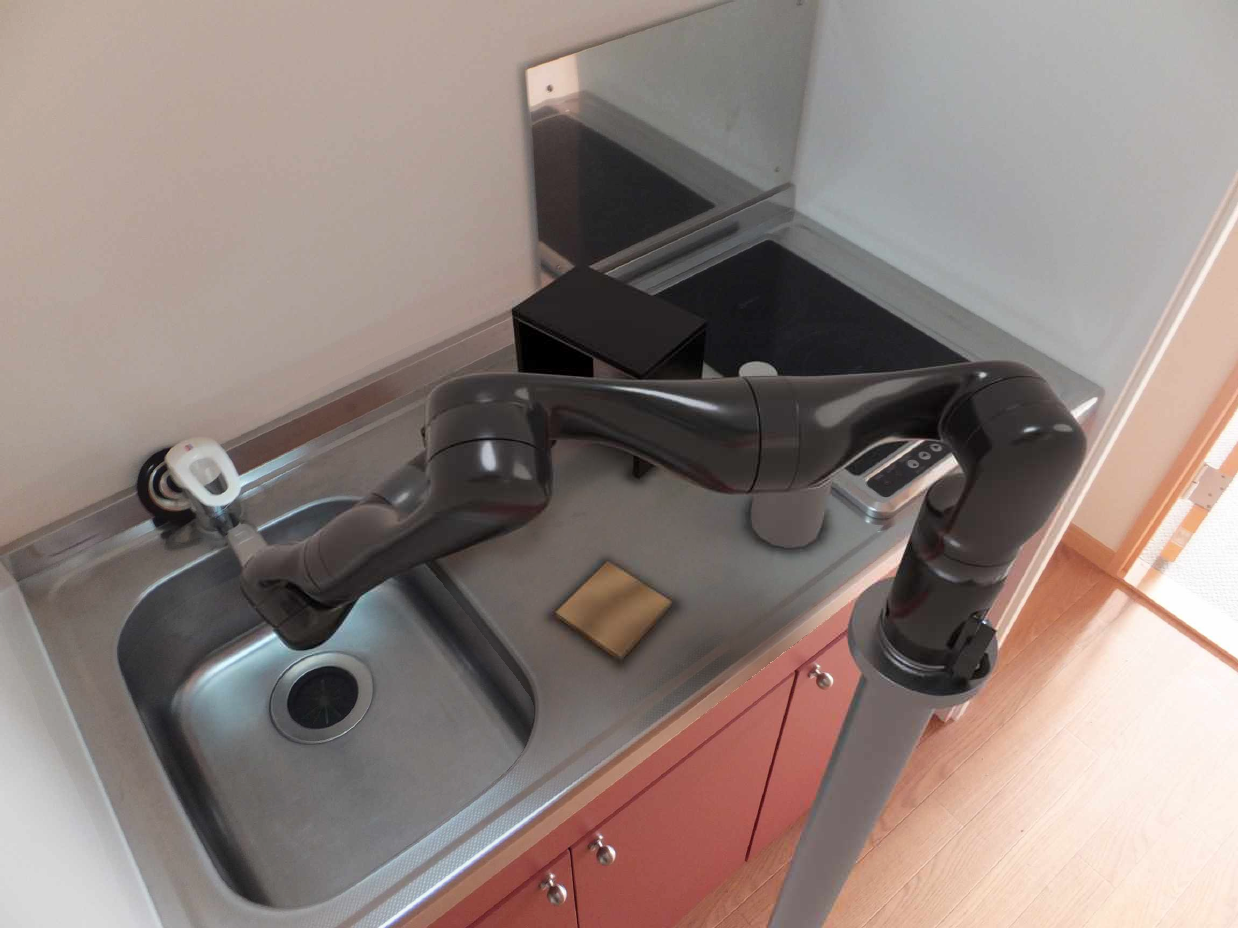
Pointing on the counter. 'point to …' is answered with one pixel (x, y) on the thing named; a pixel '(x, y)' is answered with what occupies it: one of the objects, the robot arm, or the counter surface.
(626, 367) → the black step stool
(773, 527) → the cup
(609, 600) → the plate
